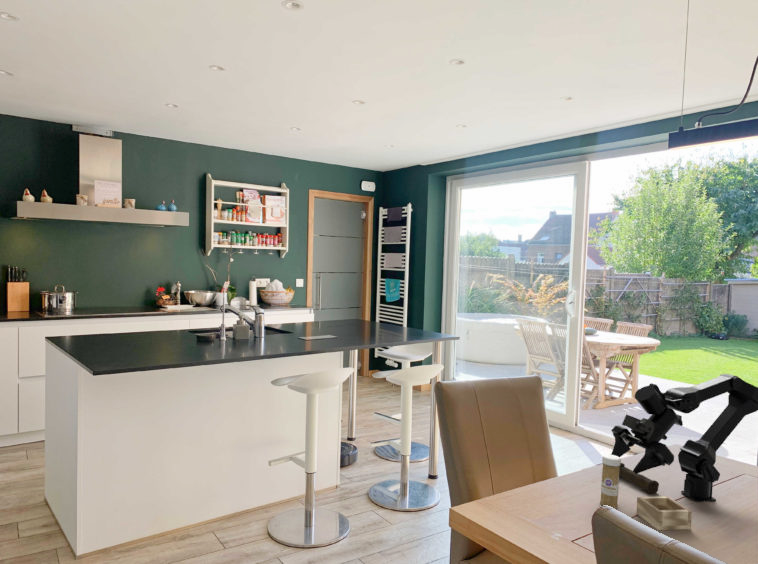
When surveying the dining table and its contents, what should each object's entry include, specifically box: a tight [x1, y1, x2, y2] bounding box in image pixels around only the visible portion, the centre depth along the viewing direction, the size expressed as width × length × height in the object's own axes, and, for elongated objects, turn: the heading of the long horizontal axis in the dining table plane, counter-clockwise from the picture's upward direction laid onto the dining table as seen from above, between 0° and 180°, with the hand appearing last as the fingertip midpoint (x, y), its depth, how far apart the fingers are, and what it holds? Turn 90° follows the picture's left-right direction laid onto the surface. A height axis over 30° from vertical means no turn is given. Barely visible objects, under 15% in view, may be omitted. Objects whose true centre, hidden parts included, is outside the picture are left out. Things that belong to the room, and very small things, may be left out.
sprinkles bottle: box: [599, 453, 622, 509], centre depth 151 cm, size 5×5×13 cm
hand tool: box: [619, 462, 660, 495], centre depth 169 cm, size 19×4×5 cm, turn 16°
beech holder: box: [635, 496, 693, 531], centre depth 142 cm, size 9×9×4 cm
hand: (622, 466), depth 151 cm, fingers open, 9 cm apart
